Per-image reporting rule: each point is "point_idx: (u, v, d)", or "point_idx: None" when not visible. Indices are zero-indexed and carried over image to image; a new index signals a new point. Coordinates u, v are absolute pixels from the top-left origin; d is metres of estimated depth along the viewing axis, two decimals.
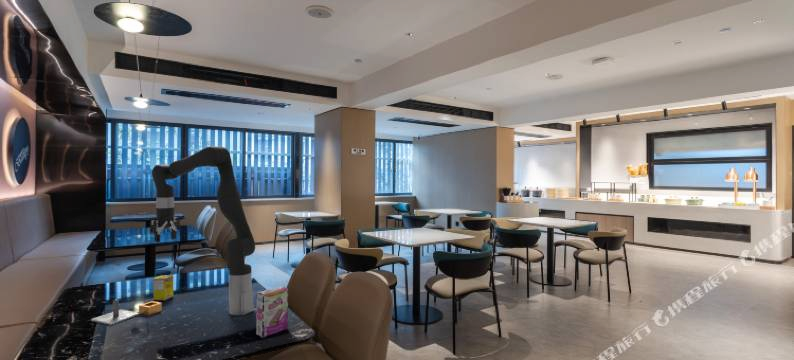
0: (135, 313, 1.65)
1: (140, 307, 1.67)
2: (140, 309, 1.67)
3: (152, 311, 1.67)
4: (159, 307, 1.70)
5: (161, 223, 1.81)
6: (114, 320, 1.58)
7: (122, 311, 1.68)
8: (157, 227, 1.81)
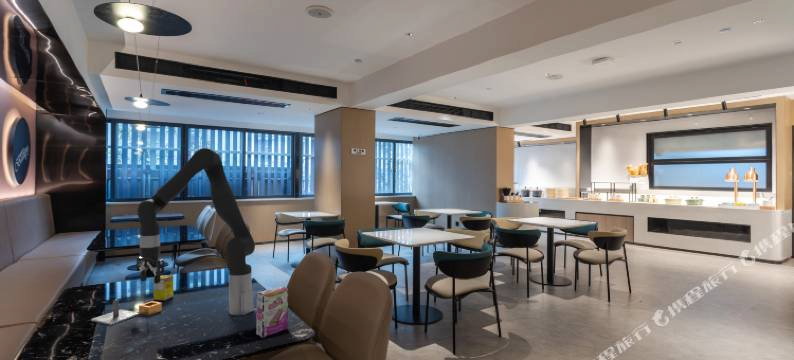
0: (135, 313, 1.65)
1: (140, 307, 1.67)
2: (140, 309, 1.67)
3: (152, 311, 1.67)
4: (159, 307, 1.70)
5: None
6: (114, 320, 1.58)
7: (122, 311, 1.68)
8: (154, 268, 1.67)
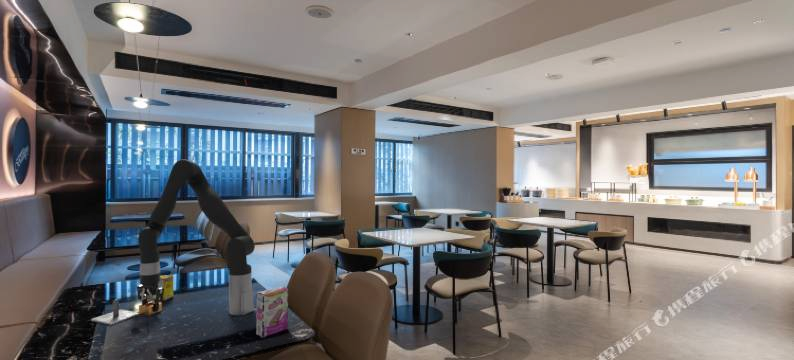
0: (135, 313, 1.65)
1: (140, 307, 1.67)
2: (140, 309, 1.67)
3: (152, 311, 1.67)
4: (159, 307, 1.70)
5: None
6: (114, 320, 1.58)
7: (122, 311, 1.68)
8: (154, 296, 1.67)
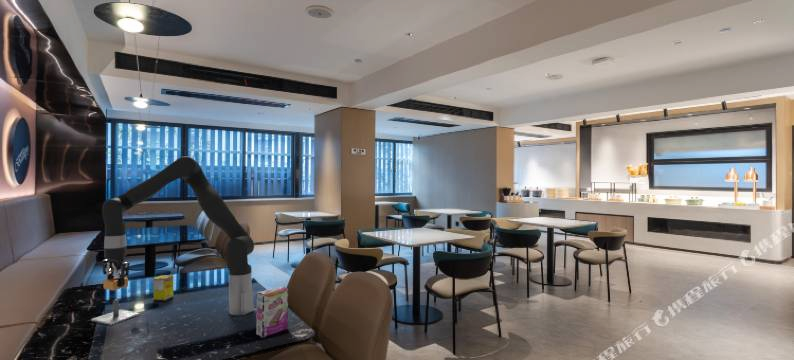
0: (135, 313, 1.65)
1: (105, 282, 1.60)
2: (104, 284, 1.60)
3: (117, 286, 1.60)
4: (125, 282, 1.63)
5: None
6: (114, 320, 1.58)
7: (122, 311, 1.68)
8: (119, 270, 1.60)
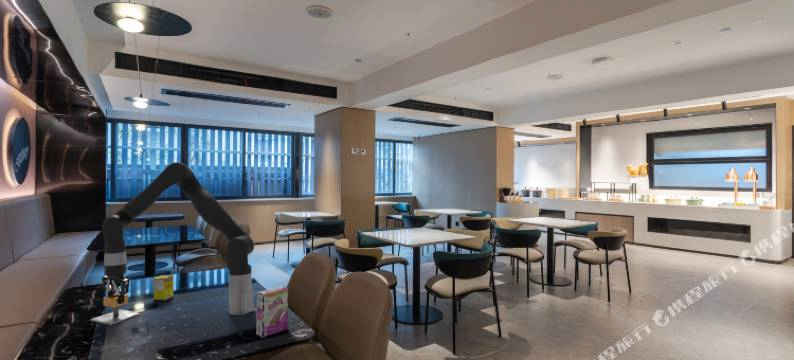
0: (135, 313, 1.65)
1: (105, 299, 1.60)
2: (104, 301, 1.60)
3: (117, 303, 1.60)
4: (125, 299, 1.63)
5: None
6: (114, 320, 1.58)
7: (122, 311, 1.68)
8: (119, 287, 1.60)
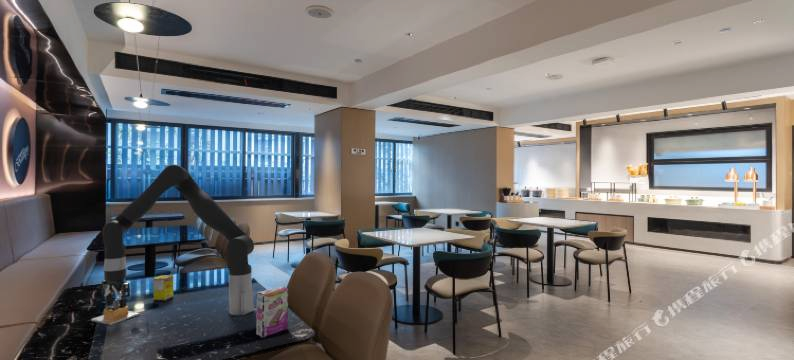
0: (135, 313, 1.65)
1: (105, 311, 1.60)
2: (104, 313, 1.60)
3: (117, 315, 1.60)
4: (125, 311, 1.63)
5: None
6: (114, 320, 1.58)
7: None
8: (119, 291, 1.60)
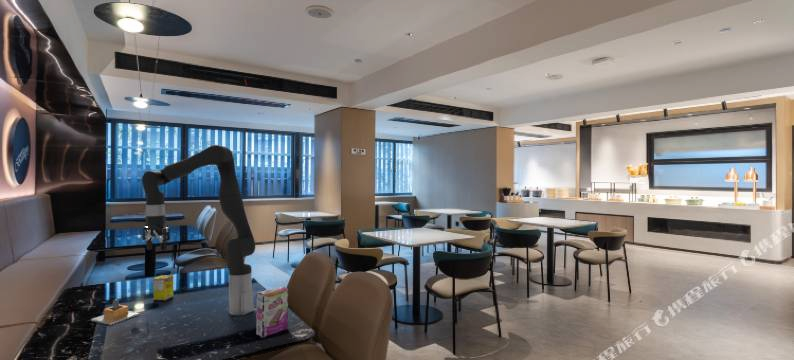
0: (135, 313, 1.65)
1: (105, 311, 1.60)
2: (104, 313, 1.60)
3: (117, 315, 1.60)
4: (125, 311, 1.63)
5: None
6: (114, 320, 1.58)
7: None
8: (160, 235, 1.74)
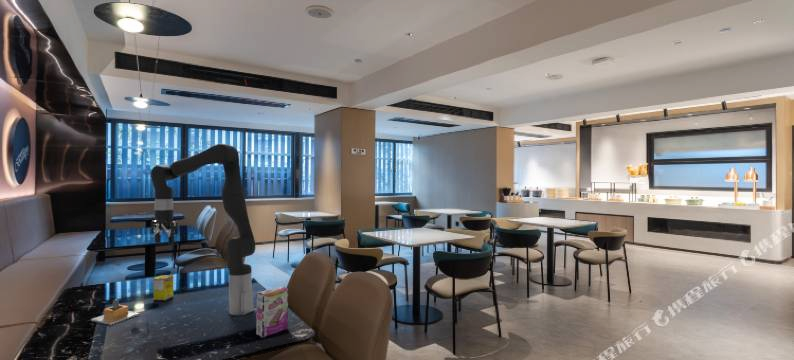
0: (135, 313, 1.65)
1: (105, 311, 1.60)
2: (104, 313, 1.60)
3: (117, 315, 1.60)
4: (125, 311, 1.63)
5: None
6: (114, 320, 1.58)
7: None
8: (168, 229, 1.77)
